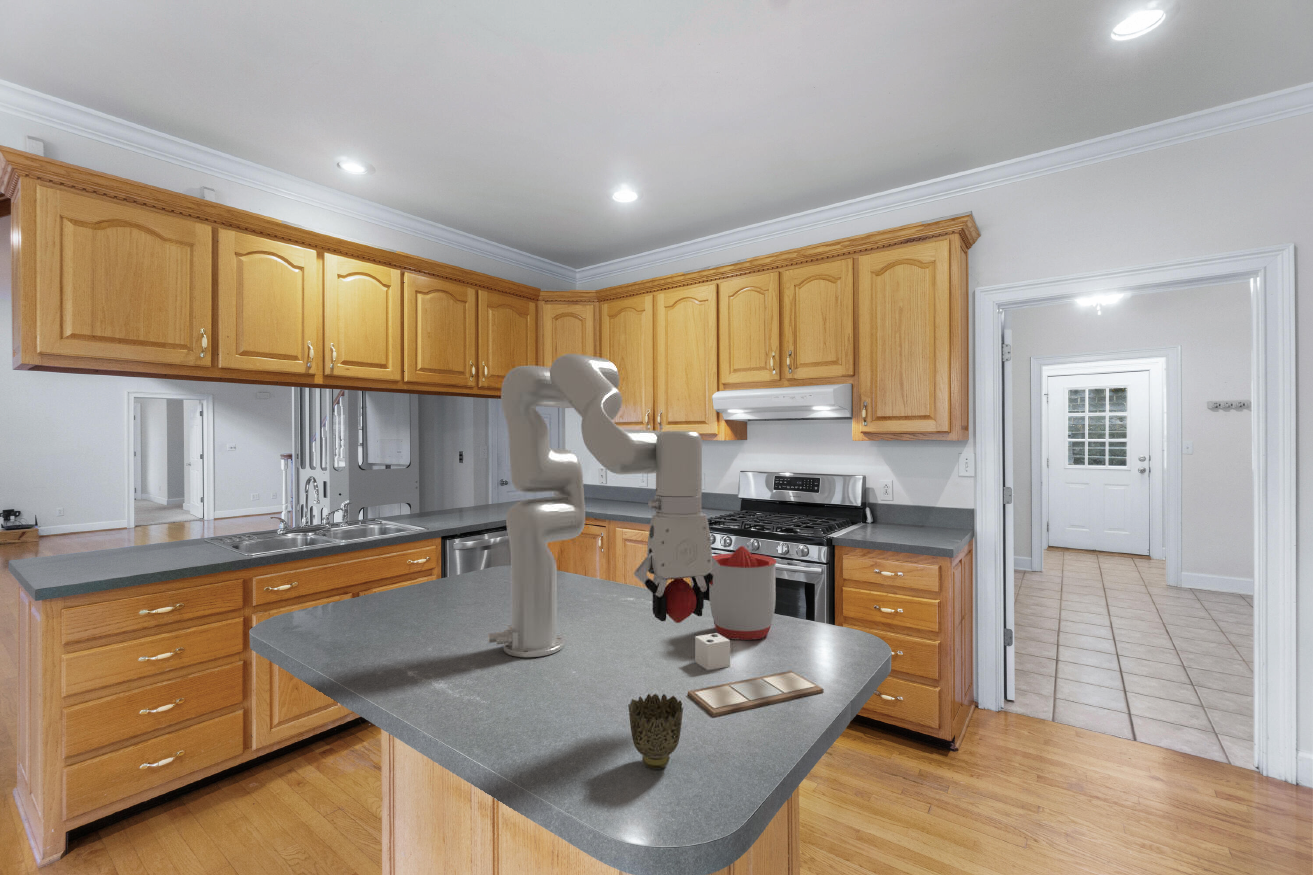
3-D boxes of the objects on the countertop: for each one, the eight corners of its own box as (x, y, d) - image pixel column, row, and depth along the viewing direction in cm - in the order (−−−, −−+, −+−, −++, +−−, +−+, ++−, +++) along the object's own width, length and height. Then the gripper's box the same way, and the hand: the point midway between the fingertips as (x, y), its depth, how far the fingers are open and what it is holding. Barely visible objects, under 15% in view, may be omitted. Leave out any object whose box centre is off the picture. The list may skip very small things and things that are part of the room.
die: (707, 670, 110) (707, 643, 110) (695, 661, 115) (695, 635, 115) (730, 666, 112) (729, 639, 113) (717, 657, 117) (716, 632, 117)
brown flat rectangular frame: (714, 716, 91) (714, 711, 91) (687, 694, 100) (687, 690, 100) (823, 692, 101) (823, 687, 101) (791, 673, 109) (791, 669, 109)
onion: (701, 620, 96) (701, 571, 96) (688, 630, 90) (688, 579, 91) (669, 615, 98) (669, 568, 98) (655, 625, 93) (655, 575, 93)
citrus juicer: (699, 622, 141) (699, 540, 141) (770, 622, 140) (770, 540, 141) (702, 644, 125) (702, 551, 125) (782, 644, 125) (782, 552, 125)
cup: (627, 750, 81) (627, 693, 81) (679, 748, 82) (679, 691, 82) (629, 781, 74) (629, 718, 74) (686, 778, 74) (686, 715, 75)
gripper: (638, 511, 88) (638, 630, 87) (735, 506, 95) (735, 616, 94) (621, 506, 94) (620, 616, 94) (712, 502, 101) (712, 604, 101)
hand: (678, 615), depth 94 cm, fingers closed on onion, 5 cm apart
